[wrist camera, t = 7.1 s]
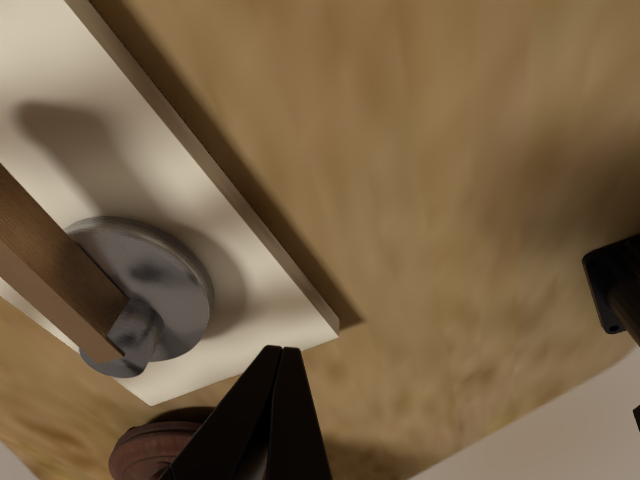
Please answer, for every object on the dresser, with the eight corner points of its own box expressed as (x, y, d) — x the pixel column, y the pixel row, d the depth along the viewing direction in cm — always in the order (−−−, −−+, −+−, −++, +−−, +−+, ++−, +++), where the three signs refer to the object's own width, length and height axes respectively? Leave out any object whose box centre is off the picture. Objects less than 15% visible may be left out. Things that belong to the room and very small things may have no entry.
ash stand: (339, 319, 25) (338, 341, 23) (158, 388, 30) (149, 410, 29) (49, -49, 15) (16, -51, 13) (-145, 153, 20) (-185, 167, 19)
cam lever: (244, 319, 23) (225, 382, 19) (123, 354, 25) (87, 415, 22) (45, 53, 15) (-44, 77, 12) (-101, 139, 18) (-211, 181, 14)
